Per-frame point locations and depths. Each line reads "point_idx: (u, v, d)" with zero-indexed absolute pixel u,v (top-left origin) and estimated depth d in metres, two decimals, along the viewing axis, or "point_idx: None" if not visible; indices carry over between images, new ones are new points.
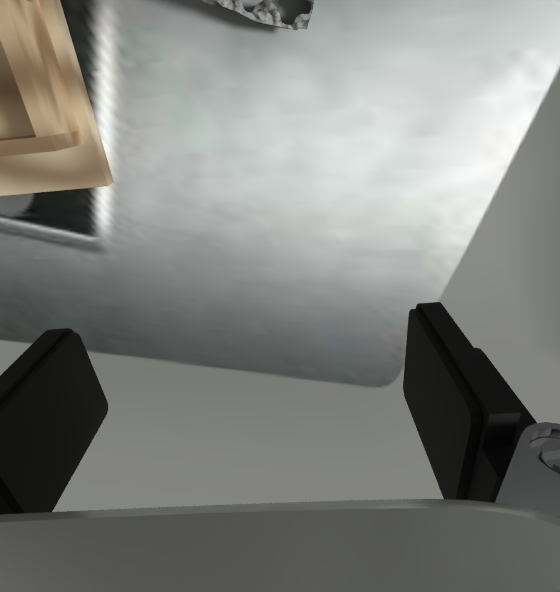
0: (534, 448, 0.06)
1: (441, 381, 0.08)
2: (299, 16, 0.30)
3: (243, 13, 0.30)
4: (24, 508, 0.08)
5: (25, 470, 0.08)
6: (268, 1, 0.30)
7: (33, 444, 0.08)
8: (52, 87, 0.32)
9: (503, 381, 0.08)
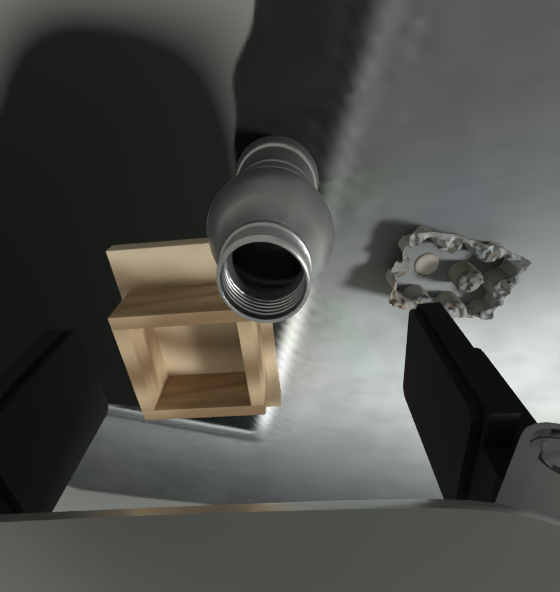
0: (534, 448, 0.06)
1: (441, 381, 0.08)
2: (484, 312, 0.35)
3: None
4: (24, 508, 0.08)
5: (25, 470, 0.08)
6: (459, 304, 0.35)
7: (33, 444, 0.08)
8: (261, 357, 0.36)
9: (503, 381, 0.08)
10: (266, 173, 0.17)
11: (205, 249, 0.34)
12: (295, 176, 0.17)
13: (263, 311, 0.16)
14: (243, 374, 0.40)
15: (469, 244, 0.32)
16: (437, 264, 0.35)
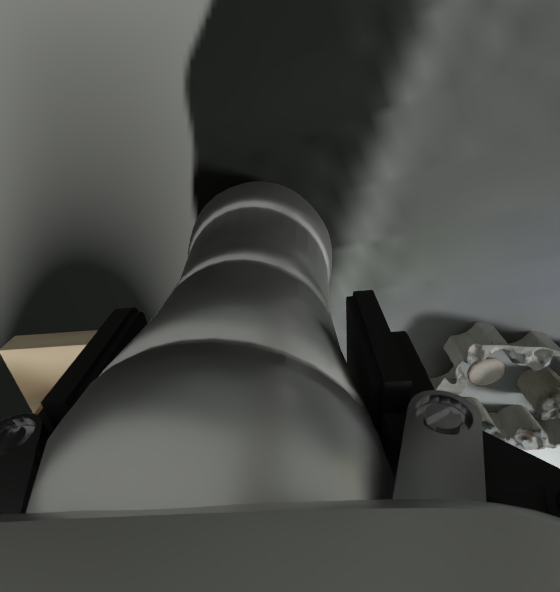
0: (422, 411, 0.07)
1: (360, 358, 0.09)
2: None
3: None
4: None
5: None
6: (539, 434, 0.23)
7: None
8: None
9: (417, 359, 0.09)
10: (191, 401, 0.05)
11: None
12: (289, 396, 0.05)
13: None
14: None
15: None
16: (502, 372, 0.24)
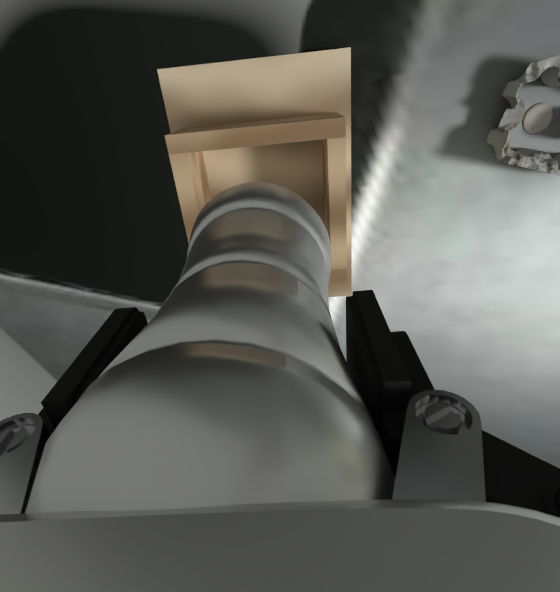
0: (421, 411, 0.07)
1: (360, 358, 0.09)
2: None
3: (555, 172, 0.29)
4: None
5: None
6: None
7: None
8: None
9: (417, 359, 0.09)
10: (191, 402, 0.05)
11: (280, 64, 0.27)
12: (289, 398, 0.05)
13: None
14: None
15: None
16: (550, 116, 0.30)
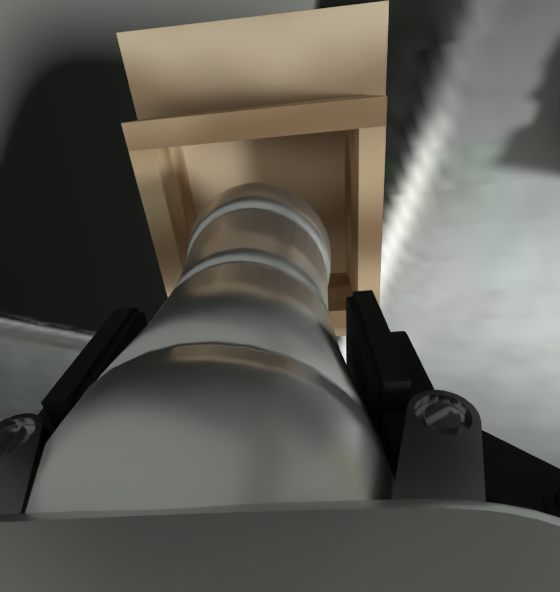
0: (421, 411, 0.07)
1: (360, 358, 0.09)
2: None
3: None
4: None
5: None
6: None
7: None
8: None
9: (417, 359, 0.09)
10: (190, 405, 0.05)
11: (289, 26, 0.19)
12: (289, 400, 0.05)
13: None
14: None
15: None
16: None
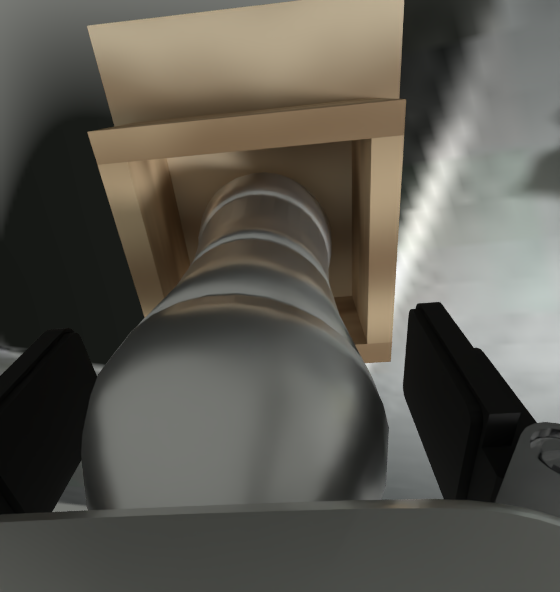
0: (534, 448, 0.06)
1: (441, 381, 0.08)
2: None
3: None
4: (24, 508, 0.08)
5: (25, 470, 0.08)
6: None
7: (33, 444, 0.08)
8: None
9: (503, 381, 0.08)
10: (223, 334, 0.06)
11: (288, 18, 0.17)
12: (300, 334, 0.07)
13: None
14: None
15: None
16: None
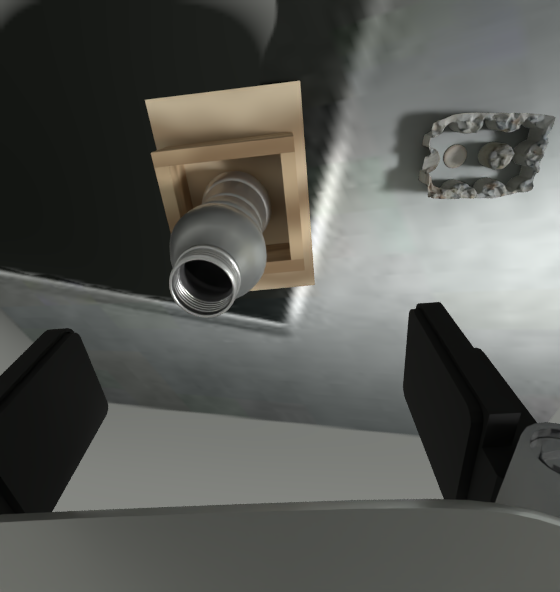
0: (534, 448, 0.06)
1: (441, 381, 0.08)
2: (523, 184, 0.36)
3: (476, 196, 0.37)
4: (24, 508, 0.08)
5: (25, 470, 0.08)
6: (497, 182, 0.36)
7: (33, 444, 0.08)
8: None
9: (503, 381, 0.08)
10: (211, 208, 0.23)
11: (244, 94, 0.34)
12: (233, 210, 0.23)
13: (205, 309, 0.22)
14: (278, 244, 0.40)
15: (490, 118, 0.33)
16: (465, 153, 0.37)
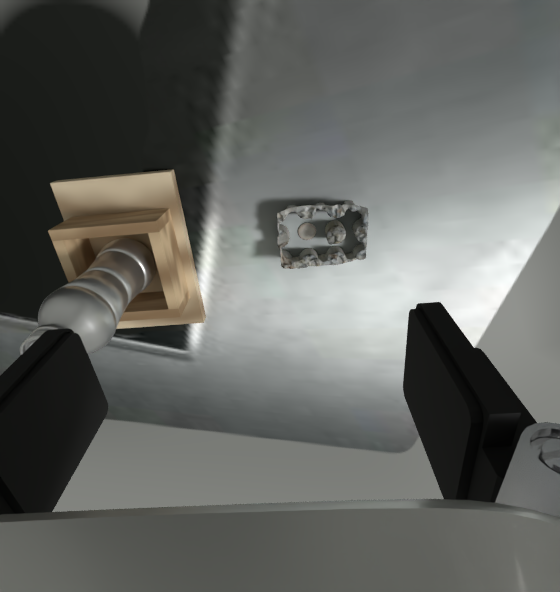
0: (534, 448, 0.06)
1: (441, 381, 0.08)
2: (358, 253, 0.46)
3: (322, 264, 0.46)
4: (24, 508, 0.08)
5: (25, 470, 0.08)
6: (336, 253, 0.45)
7: (33, 444, 0.08)
8: (177, 271, 0.45)
9: (503, 381, 0.08)
10: (64, 293, 0.32)
11: (128, 181, 0.43)
12: (82, 294, 0.33)
13: None
14: None
15: (319, 208, 0.43)
16: (314, 229, 0.46)
